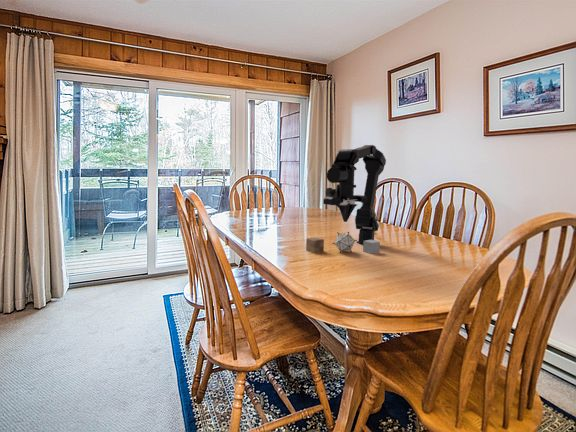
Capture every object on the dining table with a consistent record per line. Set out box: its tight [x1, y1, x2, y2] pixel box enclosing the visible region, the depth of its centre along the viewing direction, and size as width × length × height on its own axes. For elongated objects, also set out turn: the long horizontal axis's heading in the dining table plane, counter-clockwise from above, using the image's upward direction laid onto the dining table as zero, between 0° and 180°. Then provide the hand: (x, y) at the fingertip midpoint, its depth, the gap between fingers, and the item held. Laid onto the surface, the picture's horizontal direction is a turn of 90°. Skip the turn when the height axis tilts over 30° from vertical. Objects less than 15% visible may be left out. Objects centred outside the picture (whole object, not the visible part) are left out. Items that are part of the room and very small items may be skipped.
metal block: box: [305, 236, 325, 254], centre depth 142 cm, size 5×5×5 cm
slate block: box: [362, 239, 381, 255], centre depth 141 cm, size 4×4×4 cm
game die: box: [332, 231, 358, 254], centre depth 141 cm, size 9×8×10 cm
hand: (345, 221), depth 140 cm, fingers closed
